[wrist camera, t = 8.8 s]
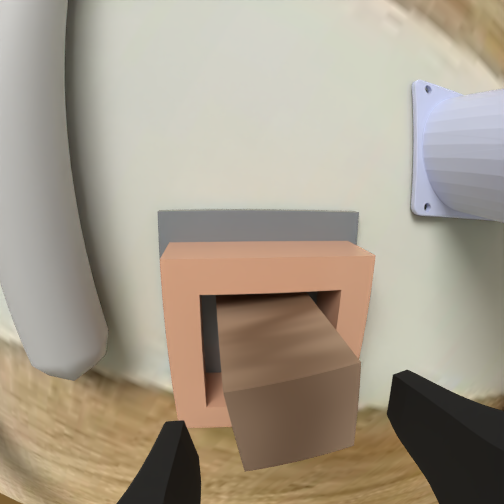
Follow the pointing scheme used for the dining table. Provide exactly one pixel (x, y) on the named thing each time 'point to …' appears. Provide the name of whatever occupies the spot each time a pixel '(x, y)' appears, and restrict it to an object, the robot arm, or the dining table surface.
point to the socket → (251, 285)
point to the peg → (285, 378)
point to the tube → (42, 198)
